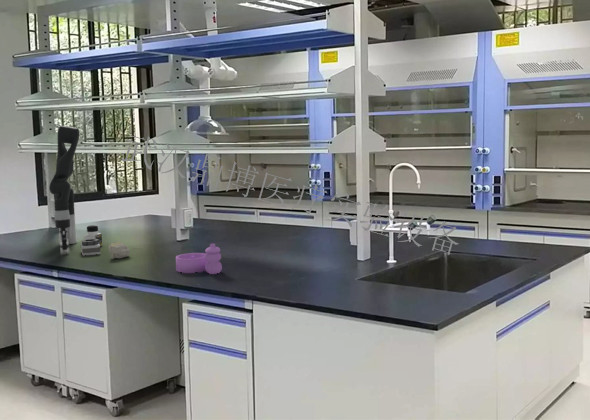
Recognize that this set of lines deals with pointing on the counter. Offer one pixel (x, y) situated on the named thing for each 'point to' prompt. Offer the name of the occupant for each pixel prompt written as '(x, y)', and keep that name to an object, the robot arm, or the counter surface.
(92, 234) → the medicine bottle
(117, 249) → the fossil replica
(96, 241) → the octagon ring plate
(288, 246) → the counter surface
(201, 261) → the container set
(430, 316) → the counter surface
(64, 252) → the lens
